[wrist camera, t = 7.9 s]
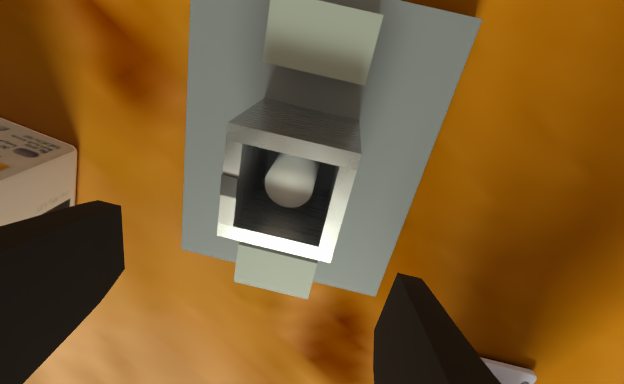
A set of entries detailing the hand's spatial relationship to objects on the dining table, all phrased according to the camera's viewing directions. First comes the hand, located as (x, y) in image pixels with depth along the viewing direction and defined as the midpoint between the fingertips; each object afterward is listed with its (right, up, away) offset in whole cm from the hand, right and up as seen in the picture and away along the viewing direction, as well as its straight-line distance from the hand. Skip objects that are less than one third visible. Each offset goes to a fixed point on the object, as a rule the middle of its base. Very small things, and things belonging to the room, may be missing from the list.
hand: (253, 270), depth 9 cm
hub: (+1, +4, +8) cm, 9 cm away
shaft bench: (+1, +4, +9) cm, 10 cm away
